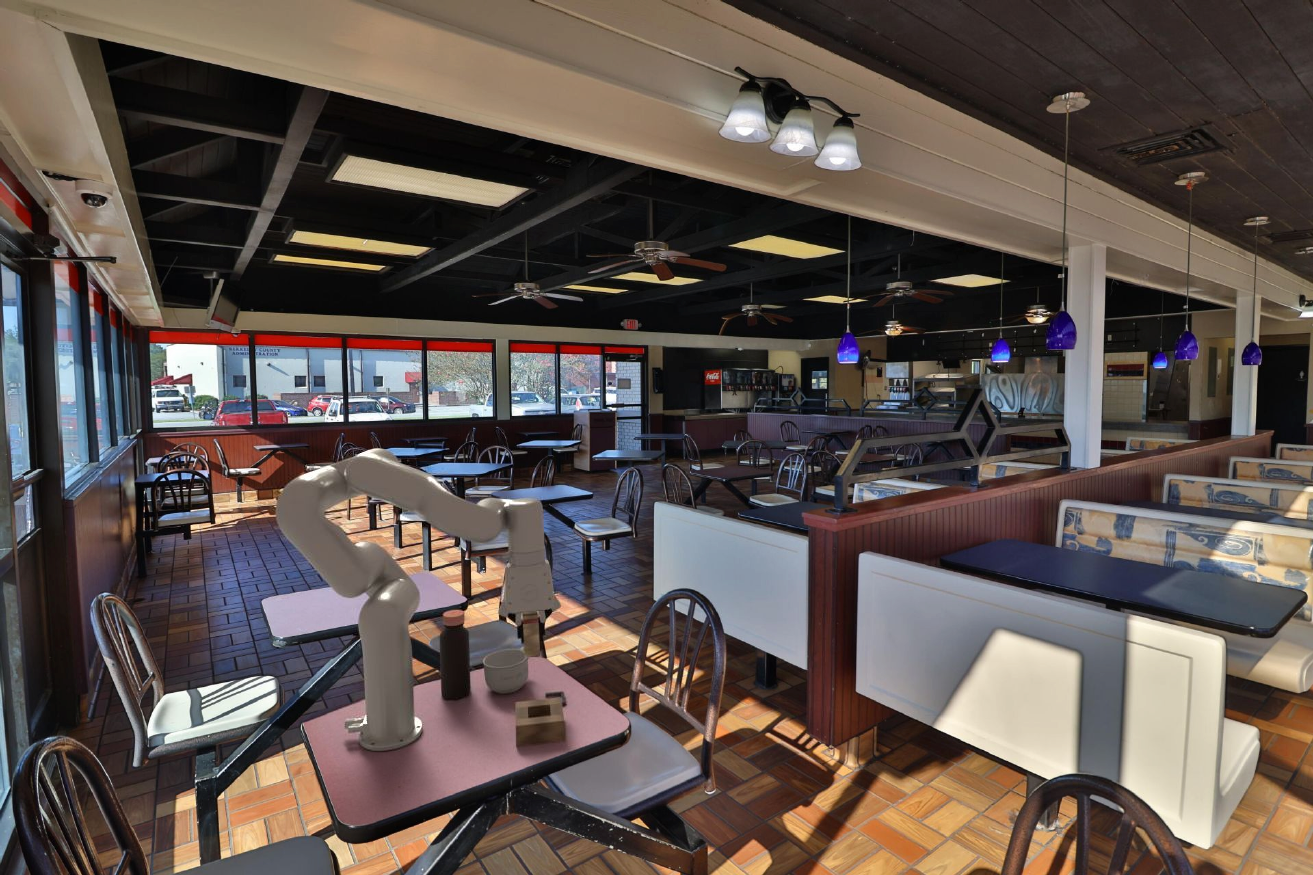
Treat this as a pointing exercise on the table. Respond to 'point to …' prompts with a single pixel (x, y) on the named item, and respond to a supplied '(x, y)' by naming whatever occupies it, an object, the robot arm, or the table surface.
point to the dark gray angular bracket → (557, 695)
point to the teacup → (506, 670)
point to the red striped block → (531, 634)
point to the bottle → (454, 656)
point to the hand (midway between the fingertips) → (531, 639)
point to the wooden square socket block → (539, 722)
